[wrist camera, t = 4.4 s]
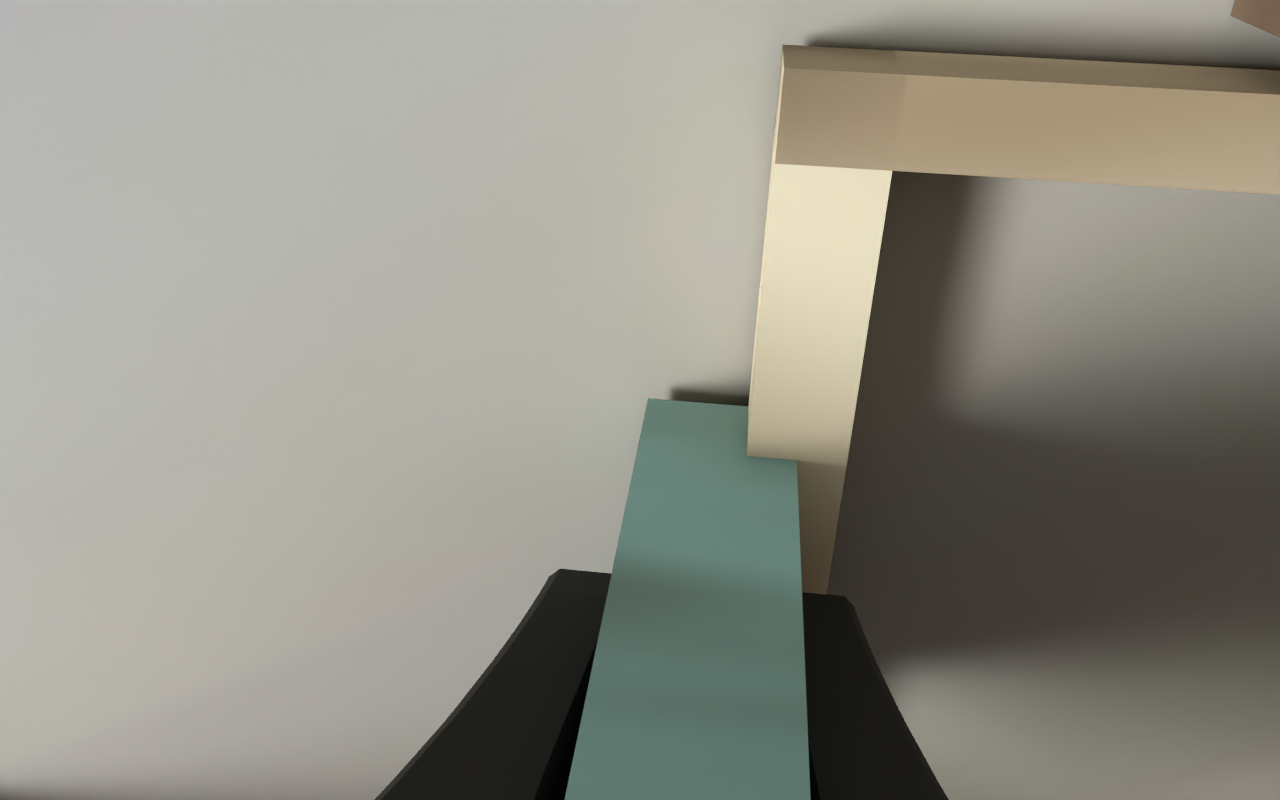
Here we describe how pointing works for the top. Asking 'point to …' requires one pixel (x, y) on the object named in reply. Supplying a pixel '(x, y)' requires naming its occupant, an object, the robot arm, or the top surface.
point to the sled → (840, 384)
